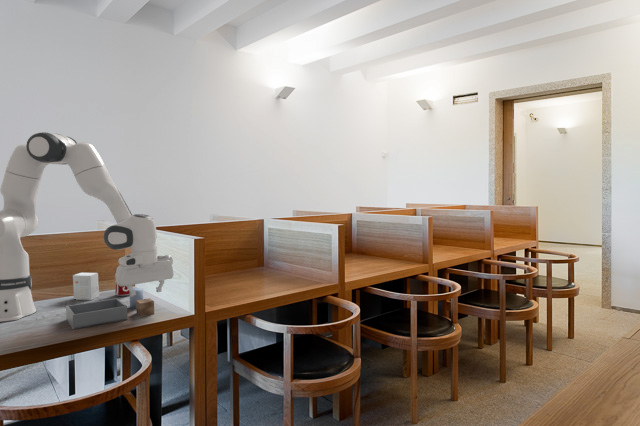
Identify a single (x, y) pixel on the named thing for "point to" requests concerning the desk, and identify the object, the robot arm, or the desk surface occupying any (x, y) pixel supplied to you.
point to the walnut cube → (145, 307)
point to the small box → (85, 286)
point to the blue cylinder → (136, 297)
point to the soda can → (121, 289)
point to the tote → (96, 313)
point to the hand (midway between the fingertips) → (146, 293)
